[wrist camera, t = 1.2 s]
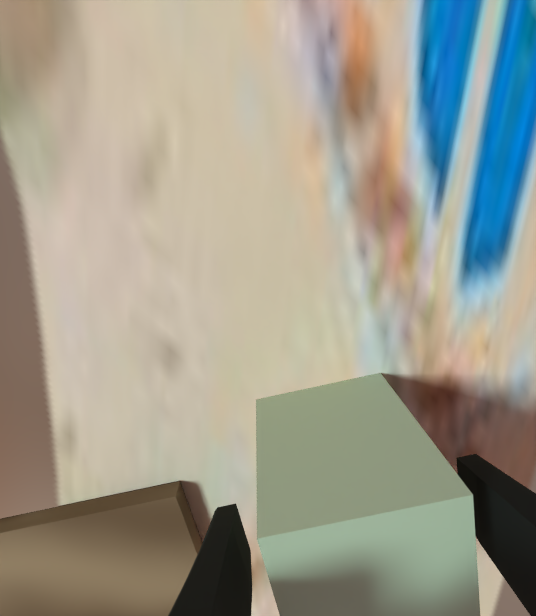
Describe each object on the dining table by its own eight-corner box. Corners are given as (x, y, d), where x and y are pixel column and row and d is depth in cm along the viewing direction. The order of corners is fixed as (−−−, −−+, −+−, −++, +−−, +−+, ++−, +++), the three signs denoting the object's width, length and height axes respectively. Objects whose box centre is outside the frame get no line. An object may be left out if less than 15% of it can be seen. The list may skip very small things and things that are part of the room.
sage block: (394, 473, 15) (481, 641, 9) (281, 496, 15) (298, 676, 9) (380, 372, 13) (473, 495, 8) (256, 398, 14) (257, 538, 8)
